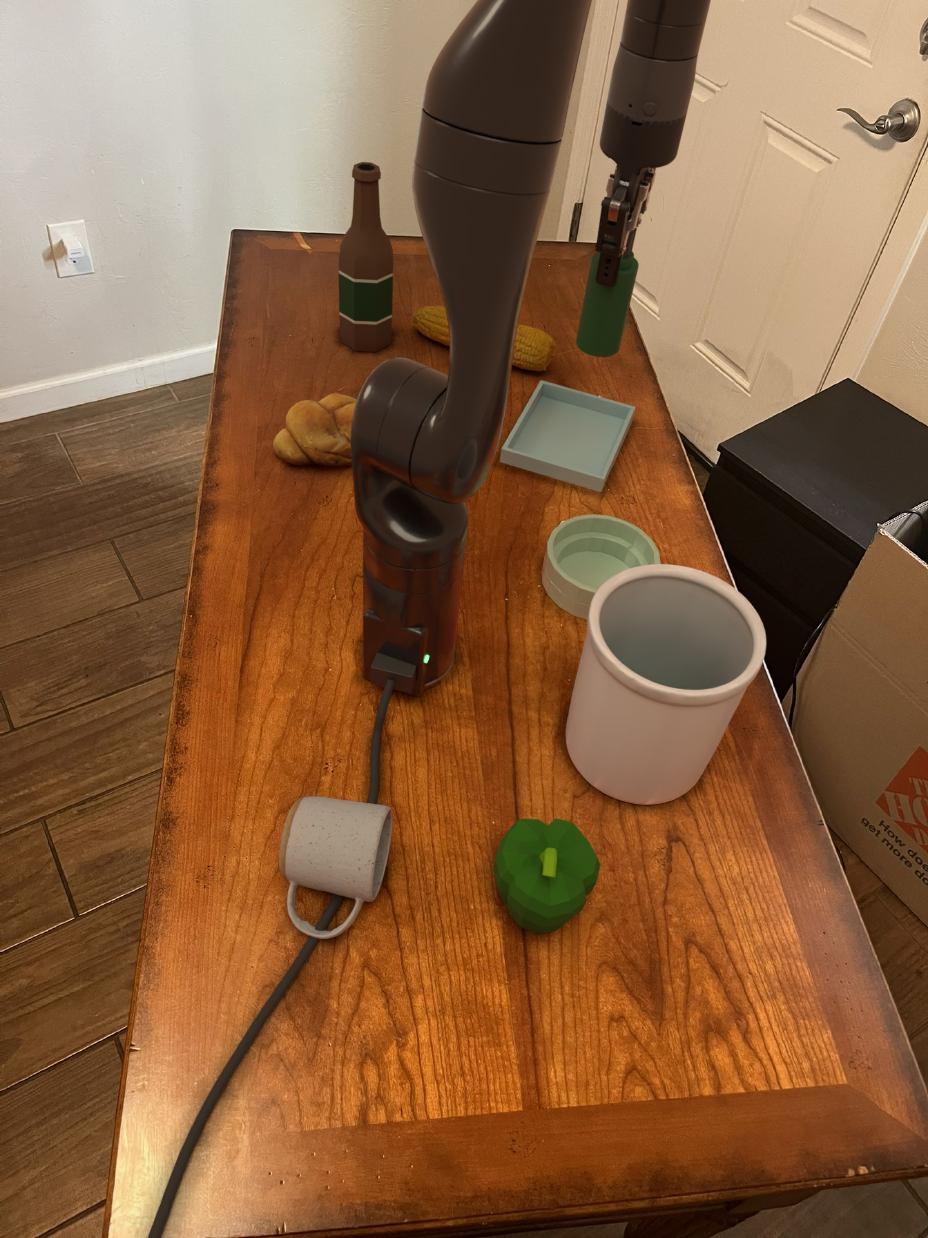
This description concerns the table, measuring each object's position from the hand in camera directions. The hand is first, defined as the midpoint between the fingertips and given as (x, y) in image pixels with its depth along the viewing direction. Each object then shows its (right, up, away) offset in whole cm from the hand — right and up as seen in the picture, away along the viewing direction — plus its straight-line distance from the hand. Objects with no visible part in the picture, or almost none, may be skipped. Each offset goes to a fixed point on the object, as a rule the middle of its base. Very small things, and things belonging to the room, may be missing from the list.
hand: (612, 271), depth 100 cm
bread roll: (-33, -16, +17) cm, 40 cm away
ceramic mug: (-27, -59, -20) cm, 68 cm away
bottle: (-1, -6, +7) cm, 9 cm away
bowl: (-1, -33, +5) cm, 33 cm away
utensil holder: (+1, -49, -9) cm, 50 cm away
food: (-13, +1, +34) cm, 36 cm away
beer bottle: (-30, +3, +34) cm, 45 cm away
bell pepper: (-10, -61, -20) cm, 65 cm away
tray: (-2, -14, +22) cm, 26 cm away
